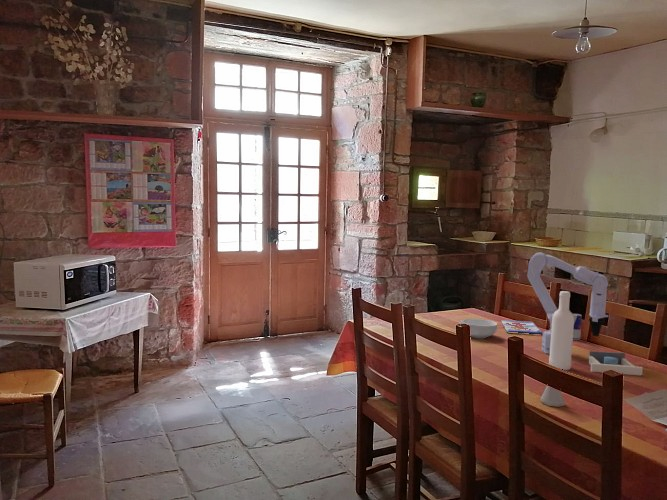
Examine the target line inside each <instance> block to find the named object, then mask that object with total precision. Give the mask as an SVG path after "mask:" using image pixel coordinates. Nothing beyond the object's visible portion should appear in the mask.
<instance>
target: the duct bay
mask: <svg viewBox="0 0 667 500" xmlns="http://www.w3.org/2000/svg"><path fill="white" fill-rule="evenodd" d="M588 364H589V365H590V372H593V373H594V372H595V373H603V371H606V370H614V371H617V372H620V373H623V374H622V375H630V376H641V375H642V376H643V370H644V369H643V367H642V366H638V365H637V366H635V365H634V364H633V363H632V362H630V361H628V359H626V357H625V358H621V364H618V365H610V364H604V363H599V362H598V361H597V360H596V359H595V358H594V357H593V356H589V355H588Z"/></svg>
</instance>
